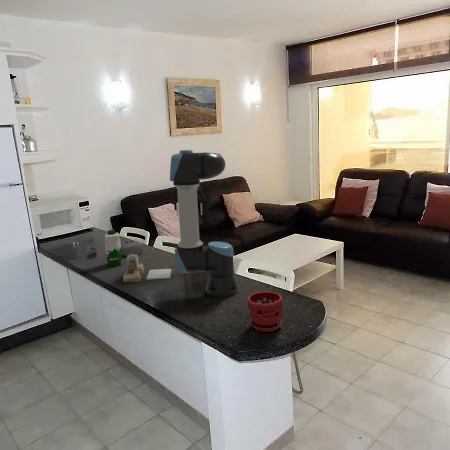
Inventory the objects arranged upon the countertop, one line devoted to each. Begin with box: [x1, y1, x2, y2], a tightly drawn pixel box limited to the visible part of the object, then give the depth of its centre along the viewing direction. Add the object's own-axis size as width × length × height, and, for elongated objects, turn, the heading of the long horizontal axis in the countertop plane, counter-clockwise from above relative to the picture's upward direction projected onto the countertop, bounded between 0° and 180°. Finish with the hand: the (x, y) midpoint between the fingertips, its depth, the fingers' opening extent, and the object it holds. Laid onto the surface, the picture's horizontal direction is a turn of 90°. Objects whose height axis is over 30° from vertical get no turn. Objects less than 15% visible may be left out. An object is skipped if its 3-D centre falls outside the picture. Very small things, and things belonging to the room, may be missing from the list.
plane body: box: [122, 263, 144, 283], centre depth 216 cm, size 17×8×9 cm, turn 4°
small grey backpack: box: [120, 239, 144, 258], centre depth 261 cm, size 15×8×20 cm
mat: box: [146, 268, 172, 281], centre depth 218 cm, size 14×12×1 cm
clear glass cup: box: [125, 254, 140, 271], centre depth 216 cm, size 6×5×8 cm
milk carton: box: [103, 229, 123, 267], centre depth 237 cm, size 9×9×20 cm
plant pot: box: [247, 291, 283, 333], centre depth 154 cm, size 13×13×12 cm
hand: (189, 215), depth 232 cm, fingers open, 13 cm apart
